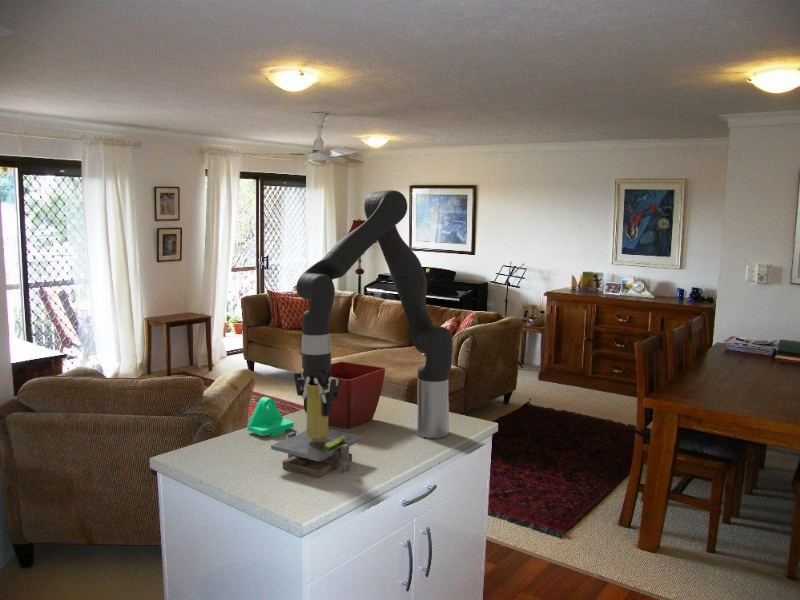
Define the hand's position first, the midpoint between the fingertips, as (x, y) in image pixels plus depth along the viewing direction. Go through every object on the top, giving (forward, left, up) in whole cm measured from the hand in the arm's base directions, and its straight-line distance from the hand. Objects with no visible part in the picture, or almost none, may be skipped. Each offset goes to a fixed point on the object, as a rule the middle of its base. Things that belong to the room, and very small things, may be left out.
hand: (317, 413), depth 173 cm
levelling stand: (0, 0, -14) cm, 14 cm away
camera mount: (-13, -30, -14) cm, 35 cm away
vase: (0, 0, -6) cm, 6 cm away
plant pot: (-34, -17, -14) cm, 40 cm away
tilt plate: (0, 0, -8) cm, 8 cm away
